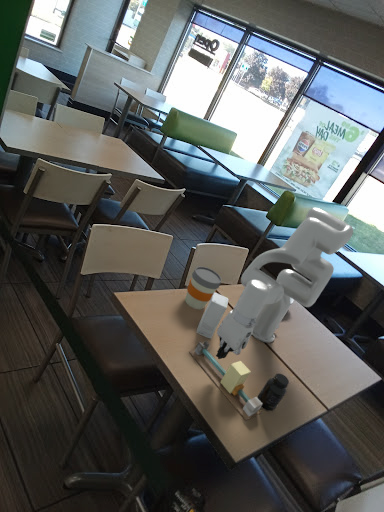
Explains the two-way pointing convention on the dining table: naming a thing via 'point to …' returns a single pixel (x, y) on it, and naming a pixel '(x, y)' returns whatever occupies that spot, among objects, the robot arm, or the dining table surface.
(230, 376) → the pale yellow block
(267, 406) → the supplement bottle
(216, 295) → the skincare box
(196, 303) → the reusable coffee cup
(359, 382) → the dining table surface
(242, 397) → the cable board
